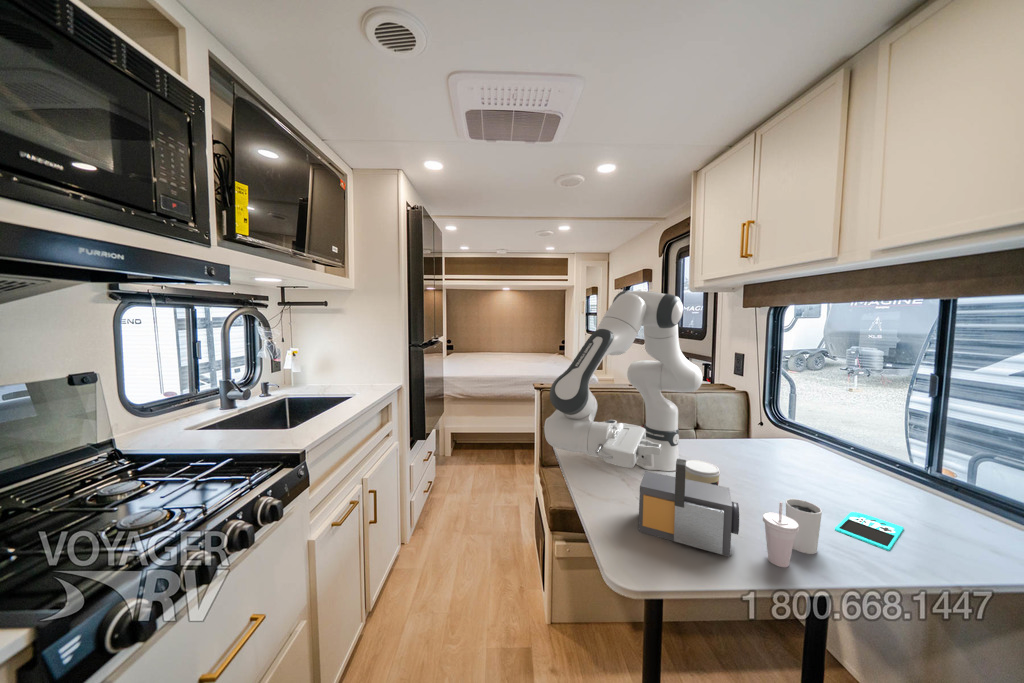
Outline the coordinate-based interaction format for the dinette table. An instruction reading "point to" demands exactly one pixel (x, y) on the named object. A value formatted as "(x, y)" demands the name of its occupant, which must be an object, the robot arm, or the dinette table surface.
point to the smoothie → (779, 537)
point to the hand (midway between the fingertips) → (660, 449)
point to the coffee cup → (702, 472)
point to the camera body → (661, 501)
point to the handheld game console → (870, 530)
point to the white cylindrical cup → (805, 524)
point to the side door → (696, 518)
